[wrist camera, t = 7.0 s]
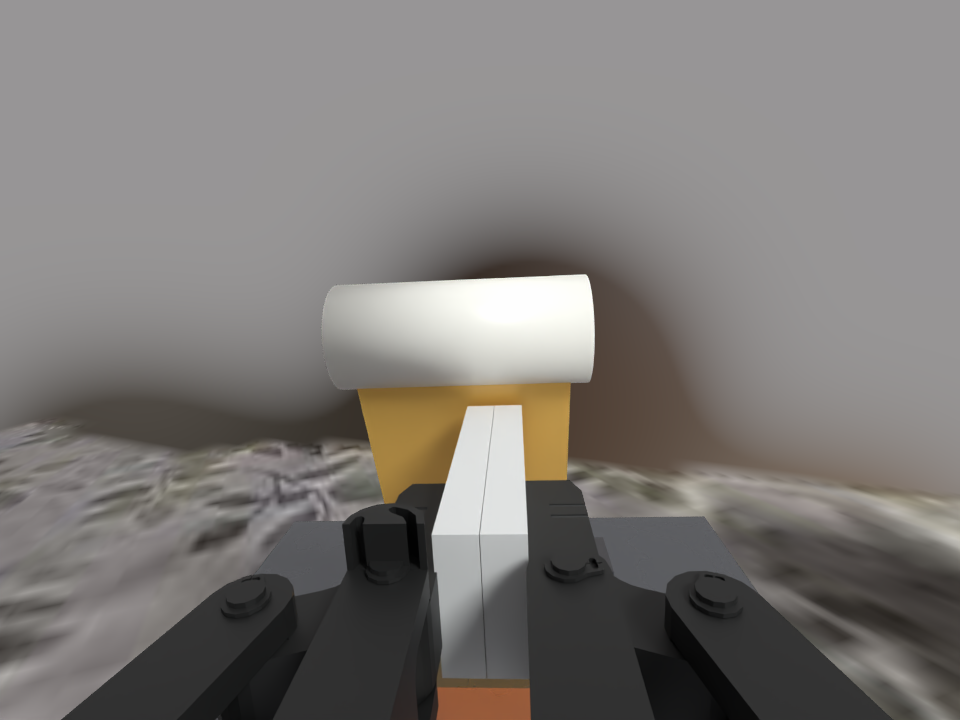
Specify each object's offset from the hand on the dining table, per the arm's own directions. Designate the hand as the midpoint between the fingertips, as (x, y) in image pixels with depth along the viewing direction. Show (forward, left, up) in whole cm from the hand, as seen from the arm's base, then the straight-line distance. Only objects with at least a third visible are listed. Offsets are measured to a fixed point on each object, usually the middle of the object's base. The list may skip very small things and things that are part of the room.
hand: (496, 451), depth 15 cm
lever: (-4, +4, -10) cm, 11 cm away
